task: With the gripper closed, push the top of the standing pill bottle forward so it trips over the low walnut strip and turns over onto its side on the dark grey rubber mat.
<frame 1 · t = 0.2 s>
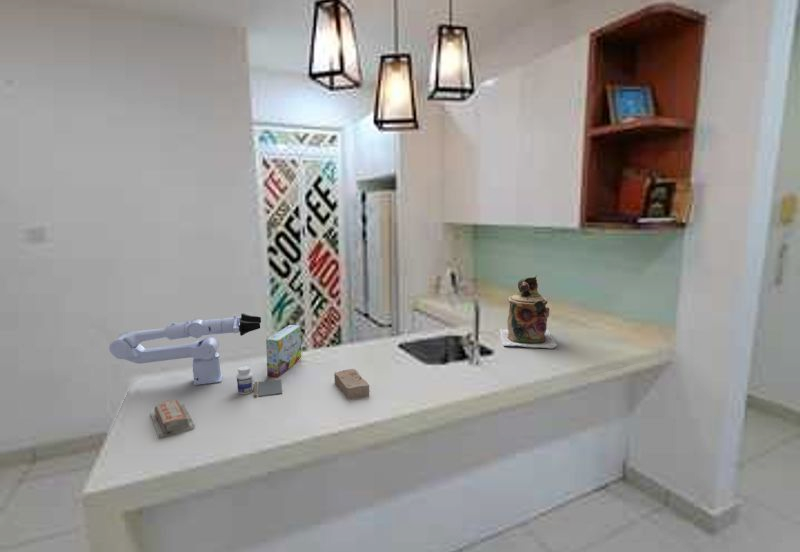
hand: (260, 322, 174), 21 cm above the worktop, tool horizontal, fingers open, 7 cm apart
snack box: (285, 367, 185), on the worktop
pill bottle: (245, 392, 162), on the worktop
packaged product: (172, 423, 141), on the worktop
brick: (351, 390, 164), on the worktop
cookie jar: (526, 340, 218), on the worktop
rubber mat: (270, 388, 165), on the worktop
walnut strip: (255, 390, 163), on the worktop
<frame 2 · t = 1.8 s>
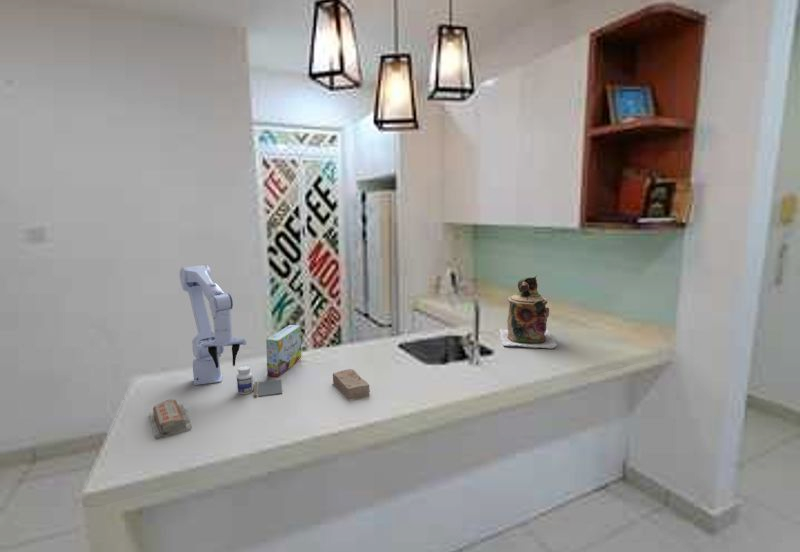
hand: (225, 365, 159), 10 cm above the worktop, tool pointing down, fingers open, 5 cm apart
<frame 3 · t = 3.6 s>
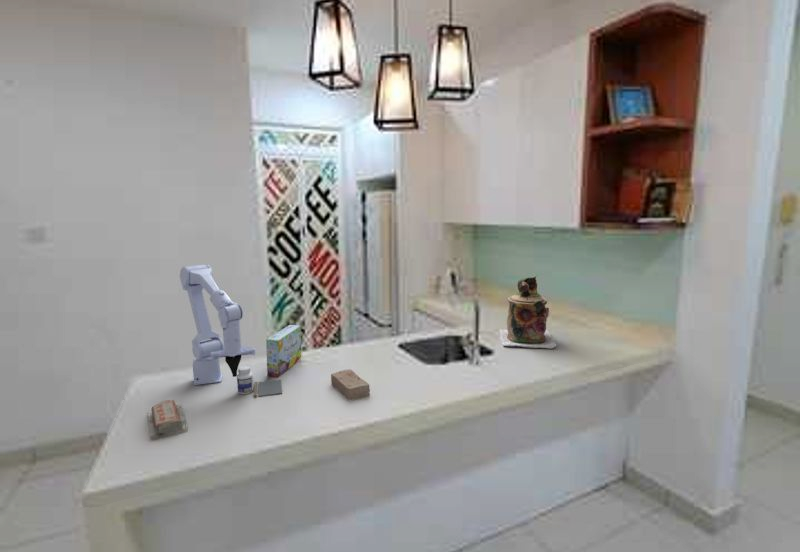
hand: (234, 375, 160), 6 cm above the worktop, tool pointing down, fingers closed, pressing on pill bottle
pill bottle: (245, 391, 162), on the worktop, touching gripper
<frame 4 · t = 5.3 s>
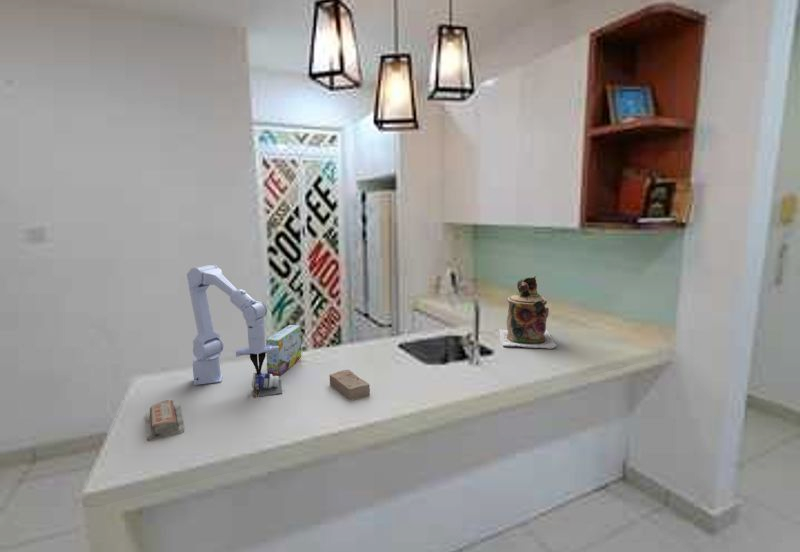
hand: (258, 372, 162), 6 cm above the worktop, tool pointing down, fingers closed
pill bottle: (251, 380, 162), point 4 cm above the worktop, touching rubber mat
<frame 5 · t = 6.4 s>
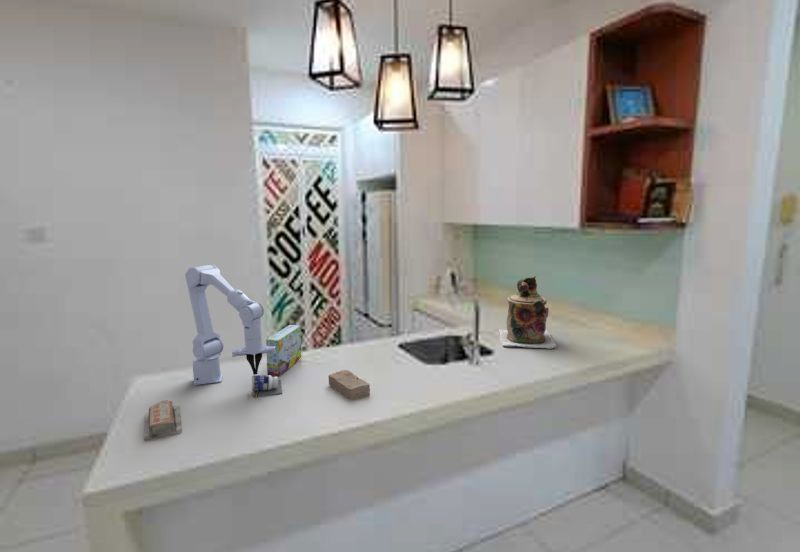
hand: (255, 373, 162), 6 cm above the worktop, tool pointing down, fingers closed
pill bottle: (251, 383, 161), point 4 cm above the worktop, touching rubber mat, walnut strip
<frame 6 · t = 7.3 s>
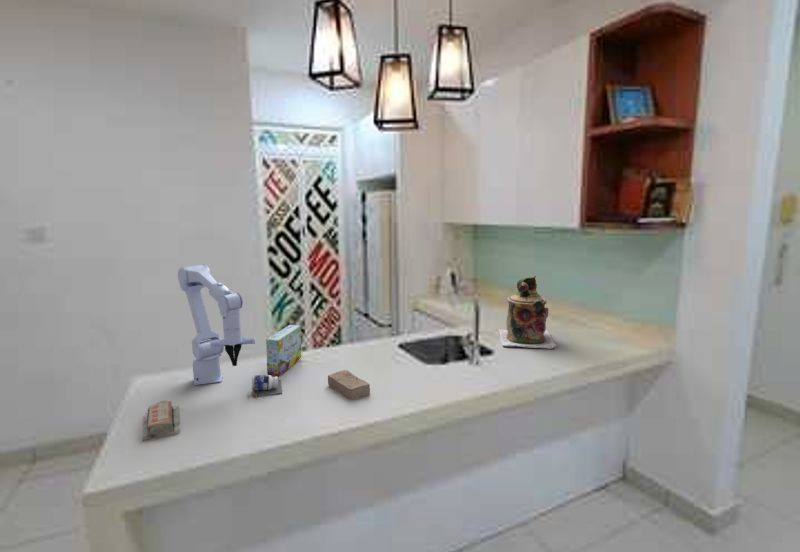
hand: (234, 364, 159), 10 cm above the worktop, tool pointing down, fingers closed
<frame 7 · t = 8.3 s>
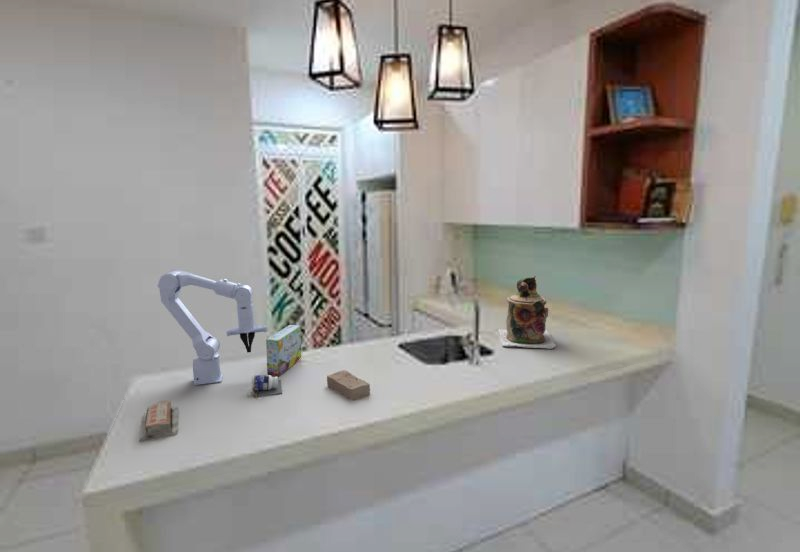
hand: (249, 351, 173), 10 cm above the worktop, tool pointing down, fingers closed
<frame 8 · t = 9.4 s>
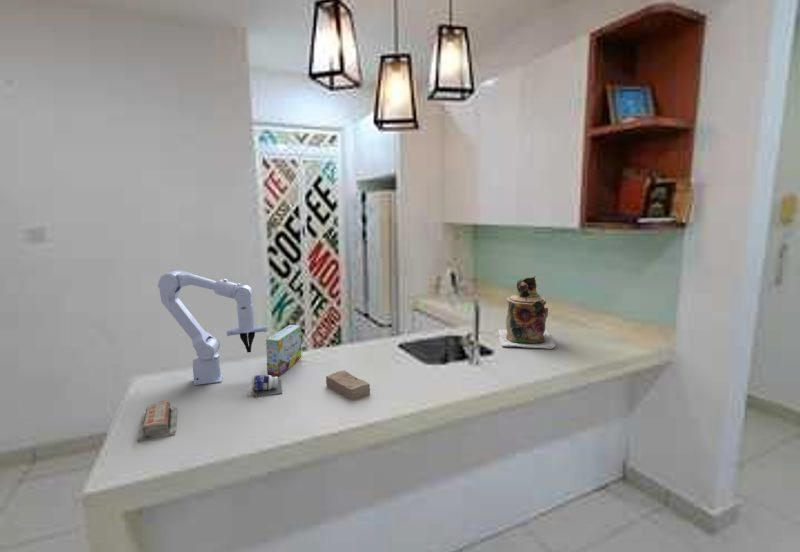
hand: (249, 351, 173), 10 cm above the worktop, tool pointing down, fingers closed
at the end: pill bottle tilted 96°; pill bottle inside the target area (6.0 cm from its centre), point 3.6 cm above the worktop; the gripper is holding nothing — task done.
